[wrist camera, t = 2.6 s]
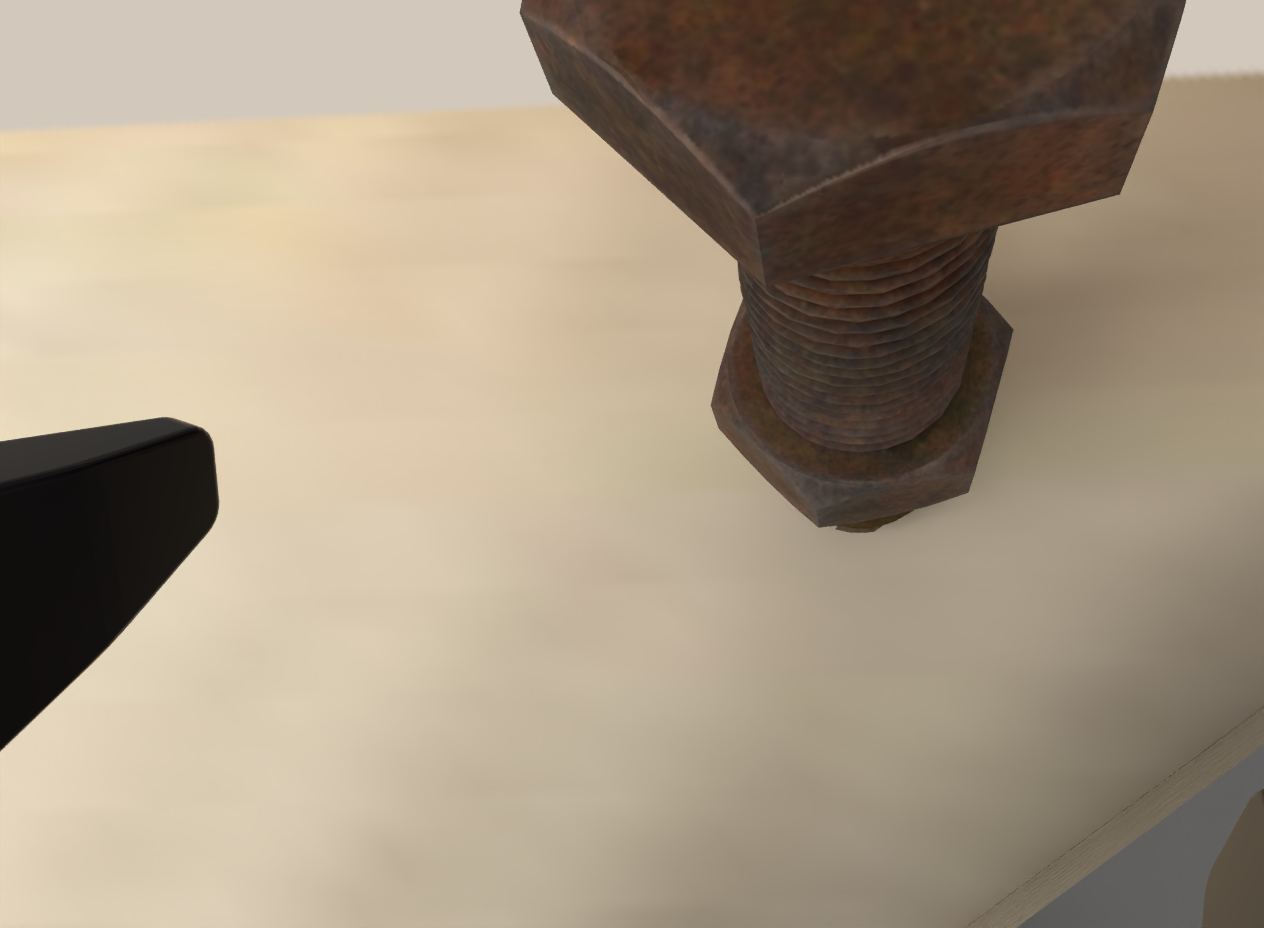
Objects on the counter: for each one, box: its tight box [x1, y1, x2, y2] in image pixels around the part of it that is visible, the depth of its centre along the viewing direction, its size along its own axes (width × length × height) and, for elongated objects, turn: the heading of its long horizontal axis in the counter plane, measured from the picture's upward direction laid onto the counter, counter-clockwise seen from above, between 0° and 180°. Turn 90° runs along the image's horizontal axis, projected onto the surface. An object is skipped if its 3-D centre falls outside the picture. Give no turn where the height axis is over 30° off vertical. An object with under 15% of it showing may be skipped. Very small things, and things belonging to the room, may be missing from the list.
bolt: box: [520, 0, 1186, 533], centre depth 15 cm, size 6×5×15 cm
